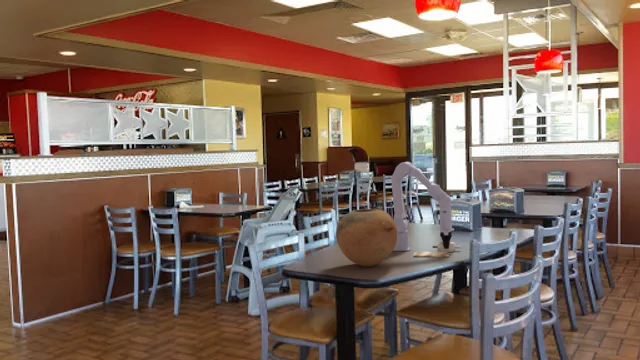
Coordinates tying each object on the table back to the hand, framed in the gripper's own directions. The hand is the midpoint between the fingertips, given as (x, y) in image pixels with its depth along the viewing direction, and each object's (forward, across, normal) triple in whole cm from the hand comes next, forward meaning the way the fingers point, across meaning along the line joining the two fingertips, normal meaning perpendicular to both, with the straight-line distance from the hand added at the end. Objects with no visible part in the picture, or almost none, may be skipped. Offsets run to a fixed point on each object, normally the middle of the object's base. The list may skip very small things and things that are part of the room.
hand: (446, 247), depth 274 cm
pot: (+2, -36, +34) cm, 50 cm away
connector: (+2, 0, 0) cm, 2 cm away
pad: (+2, -11, +7) cm, 13 cm away
